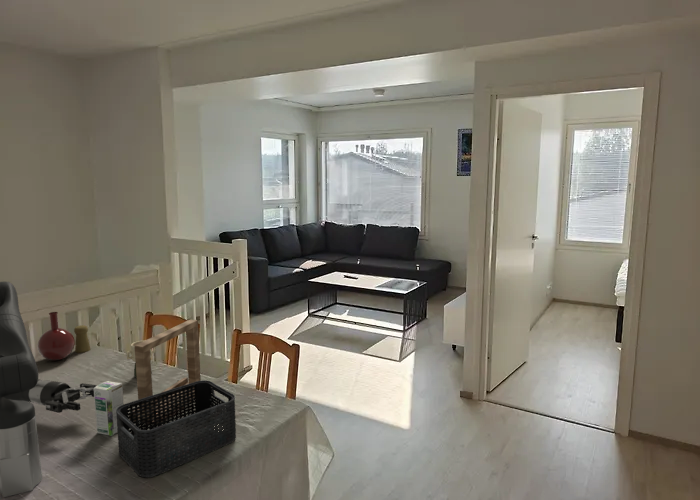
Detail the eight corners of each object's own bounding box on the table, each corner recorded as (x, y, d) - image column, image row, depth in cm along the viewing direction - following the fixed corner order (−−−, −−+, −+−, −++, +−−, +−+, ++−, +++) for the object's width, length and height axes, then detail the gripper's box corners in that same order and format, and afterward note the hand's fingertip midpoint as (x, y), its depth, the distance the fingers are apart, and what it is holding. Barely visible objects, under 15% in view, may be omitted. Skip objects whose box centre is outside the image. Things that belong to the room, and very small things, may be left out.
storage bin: (207, 416, 156) (205, 377, 154) (241, 439, 143) (239, 396, 140) (114, 452, 136) (111, 407, 134) (144, 483, 122) (140, 434, 120)
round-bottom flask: (74, 362, 199) (70, 315, 196) (37, 367, 193) (31, 319, 190) (77, 351, 211) (73, 307, 207) (41, 356, 205) (36, 310, 202)
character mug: (132, 383, 179) (129, 349, 177) (124, 377, 185) (122, 344, 182) (161, 374, 187) (159, 342, 185) (153, 369, 192) (151, 337, 190)
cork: (83, 353, 209) (81, 328, 207) (71, 352, 210) (69, 327, 208) (93, 348, 214) (91, 324, 213) (81, 347, 216) (79, 323, 214)
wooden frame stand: (158, 425, 150) (153, 348, 146) (129, 420, 153) (123, 344, 149) (210, 387, 176) (207, 321, 172) (184, 383, 179) (181, 318, 175)
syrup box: (96, 433, 145) (92, 387, 143) (111, 423, 151) (107, 379, 148) (111, 436, 143) (107, 390, 141) (126, 426, 149) (122, 382, 147)
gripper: (27, 391, 145) (70, 399, 140) (67, 373, 159) (108, 379, 154) (30, 415, 146) (72, 423, 142) (70, 394, 160) (109, 401, 155)
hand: (90, 400), depth 148 cm, fingers open, 8 cm apart
